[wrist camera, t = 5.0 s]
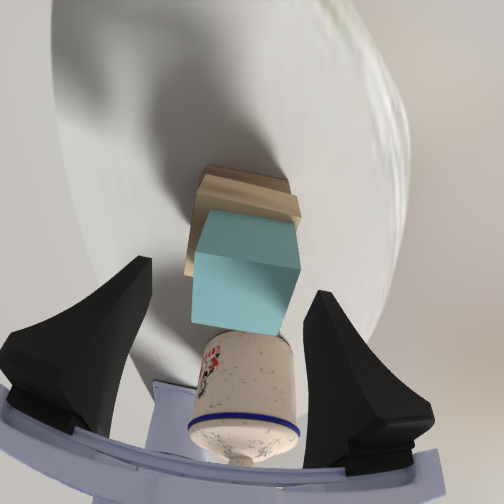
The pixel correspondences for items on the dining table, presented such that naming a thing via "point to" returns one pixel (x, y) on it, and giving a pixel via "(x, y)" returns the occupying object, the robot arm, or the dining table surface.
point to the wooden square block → (247, 178)
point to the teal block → (244, 272)
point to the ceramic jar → (245, 398)
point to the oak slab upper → (237, 207)
